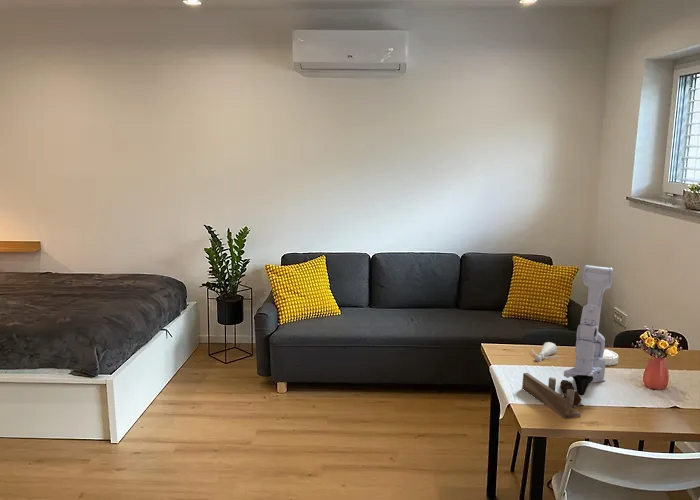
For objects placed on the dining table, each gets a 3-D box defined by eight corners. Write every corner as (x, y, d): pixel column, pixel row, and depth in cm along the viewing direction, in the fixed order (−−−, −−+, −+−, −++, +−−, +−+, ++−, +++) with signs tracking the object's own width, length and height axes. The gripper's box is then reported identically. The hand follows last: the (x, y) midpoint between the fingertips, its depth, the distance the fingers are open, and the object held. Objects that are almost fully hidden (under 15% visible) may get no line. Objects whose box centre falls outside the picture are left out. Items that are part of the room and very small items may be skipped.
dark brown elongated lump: (565, 393, 220) (574, 410, 205) (554, 385, 220) (561, 401, 205) (575, 380, 218) (584, 396, 204) (563, 373, 219) (571, 388, 204)
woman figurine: (566, 343, 254) (551, 358, 240) (565, 353, 255) (550, 368, 241) (539, 337, 261) (523, 351, 247) (538, 346, 262) (522, 361, 248)
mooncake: (584, 361, 246) (585, 353, 246) (589, 353, 257) (589, 345, 256) (616, 368, 240) (617, 359, 240) (619, 358, 251) (620, 350, 250)
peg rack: (541, 386, 220) (543, 370, 219) (585, 415, 198) (587, 398, 196) (521, 388, 217) (523, 373, 216) (564, 418, 195) (566, 401, 194)
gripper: (574, 363, 202) (570, 401, 205) (609, 360, 207) (605, 396, 209) (561, 356, 209) (557, 392, 211) (595, 353, 213) (591, 388, 216)
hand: (580, 394), depth 211 cm, fingers closed
